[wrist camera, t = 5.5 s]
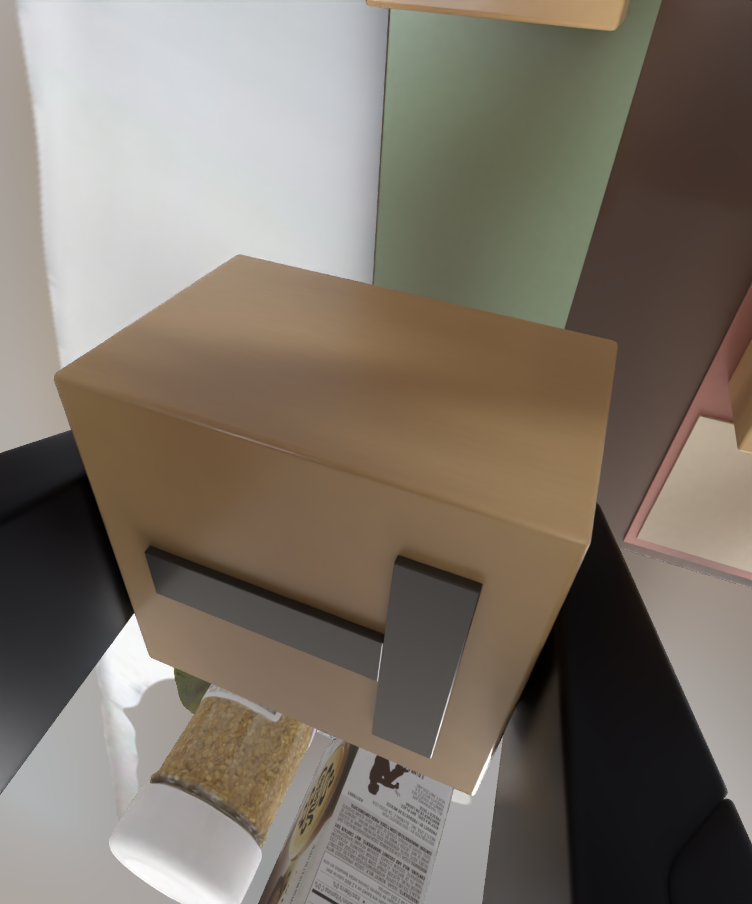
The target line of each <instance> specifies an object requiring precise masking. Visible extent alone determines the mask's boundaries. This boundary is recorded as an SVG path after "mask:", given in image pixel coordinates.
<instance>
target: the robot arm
mask: <svg viewBox="0 0 752 904" xmlns="http://www.w3.org/2000/svg"><path fill="white" fill-rule="evenodd" d="M133 614H134V610H133V607H132V604H131V601H130V598H129V595H128V593H127V590H126V587H125V584H124V581H123V578H122V575H121V572H120V569H119V567H118V564H117V561H116V558H115V555H114V552H113V549H112V546H111V543H110V541H109V538H108V535H107V532H106V529H105V526H104V523H103V520H102V517H101V514H100V512H99V509H98V506H97V503H96V500H95V497H94V494H93V491H92V488H91V486H90V483H89V480H88V477H87V474H86V471H85V468H84V465H83V462H82V459H81V457H80V454H79V451H78V448H77V445H76V442H75V439H74V436H73V433H72V431H71V430H69V431H66V432H64V433H60V434H57V435H54V436H51V437H48V438H45V439H42V440H39V441H36V442H33V443H30V444H26V445H23V446H20V447H17V448H14V449H11V450H8V451H5V452H2V453H0V794H1V793H2V792H3V790H4V789H5V788H6V786H7V785H8V783H9V782H10V781H11V779H12V778H13V777H14V775H15V774H16V773H17V771H18V770H19V769H20V767H21V766H22V765H23V763H24V762H25V760H26V759H27V757H28V756H29V755H30V754H31V752H32V751H33V750H34V748H35V747H36V745H37V744H38V743H39V741H40V740H41V739H42V737H43V736H44V735H45V733H46V732H47V731H48V729H49V728H50V726H51V725H52V724H53V722H54V721H55V720H56V718H57V717H58V716H59V714H60V713H61V711H62V710H63V709H64V707H65V706H66V705H67V703H68V702H69V700H70V699H71V698H72V697H73V695H74V694H75V693H76V691H77V690H78V688H79V687H80V686H81V684H82V683H83V682H84V680H85V679H86V677H87V676H88V675H89V674H90V672H91V671H92V669H93V668H94V667H95V665H96V664H97V663H98V661H99V660H100V659H101V657H102V656H103V655H104V653H105V652H106V650H107V649H108V648H109V646H110V645H111V644H112V642H113V641H114V640H115V638H116V637H117V636H118V634H119V633H120V631H121V630H122V629H123V627H124V626H125V625H126V623H127V622H128V621H129V619H130V618H131V617H132V615H133ZM727 793H728V792H727V788H726V786H725V784H724V781H723V779H722V777H721V775H720V773H719V770H718V768H717V766H716V763H715V761H714V759H713V757H712V754H711V752H710V750H709V748H708V746H707V743H706V741H705V739H704V737H703V734H702V732H701V730H700V728H699V725H698V723H697V721H696V719H695V716H694V714H693V712H692V710H691V707H690V705H689V703H688V701H687V699H686V696H685V694H684V692H683V690H682V687H681V685H680V683H679V681H678V678H677V676H676V674H675V672H674V670H673V667H672V665H671V663H670V660H669V658H668V656H667V654H666V652H665V649H664V647H663V645H662V643H661V640H660V638H659V636H658V634H657V631H656V629H655V627H654V625H653V623H652V620H651V618H650V616H649V614H648V612H647V609H646V607H645V605H644V603H643V600H642V598H641V596H640V593H639V591H638V589H637V587H636V585H635V582H634V580H633V578H632V576H631V573H630V571H629V569H628V567H627V564H626V562H625V560H624V558H623V555H622V553H621V551H620V549H619V546H618V544H617V542H616V540H615V537H614V535H613V533H612V531H611V529H610V526H609V524H608V522H607V520H606V517H605V515H604V513H603V511H602V508H601V506H600V505H599V504H598V503H597V502H596V509H595V516H594V523H593V530H592V538H591V544H590V546H589V548H588V550H587V553H586V555H585V557H584V559H583V561H582V563H581V566H580V568H579V570H578V572H577V574H576V577H575V579H574V581H573V583H572V585H571V588H570V590H569V592H568V594H567V596H566V598H565V601H564V603H563V605H562V607H561V609H560V612H559V614H558V616H557V618H556V620H555V622H554V625H553V627H552V629H551V631H550V633H549V636H548V638H547V640H546V642H545V644H544V647H543V649H542V651H541V653H540V655H539V657H538V660H537V662H536V664H535V666H534V668H533V671H532V673H531V675H530V677H529V679H528V682H527V684H526V686H525V688H524V690H523V692H522V695H521V697H520V699H519V701H518V703H517V706H516V708H515V710H514V712H513V714H512V717H511V719H510V721H509V723H508V725H507V727H506V730H505V732H504V735H503V743H502V751H501V759H500V767H499V775H498V783H497V790H496V798H495V806H494V814H493V822H492V831H491V838H490V846H489V854H488V862H487V870H486V878H485V886H484V895H483V902H482V904H752V843H751V841H750V839H749V837H748V834H747V832H746V830H745V828H744V825H743V823H742V821H741V819H740V816H739V814H738V812H737V810H736V807H735V805H734V803H733V802H732V801H731V800H730V799H724V798H725V797H726V795H727Z"/></svg>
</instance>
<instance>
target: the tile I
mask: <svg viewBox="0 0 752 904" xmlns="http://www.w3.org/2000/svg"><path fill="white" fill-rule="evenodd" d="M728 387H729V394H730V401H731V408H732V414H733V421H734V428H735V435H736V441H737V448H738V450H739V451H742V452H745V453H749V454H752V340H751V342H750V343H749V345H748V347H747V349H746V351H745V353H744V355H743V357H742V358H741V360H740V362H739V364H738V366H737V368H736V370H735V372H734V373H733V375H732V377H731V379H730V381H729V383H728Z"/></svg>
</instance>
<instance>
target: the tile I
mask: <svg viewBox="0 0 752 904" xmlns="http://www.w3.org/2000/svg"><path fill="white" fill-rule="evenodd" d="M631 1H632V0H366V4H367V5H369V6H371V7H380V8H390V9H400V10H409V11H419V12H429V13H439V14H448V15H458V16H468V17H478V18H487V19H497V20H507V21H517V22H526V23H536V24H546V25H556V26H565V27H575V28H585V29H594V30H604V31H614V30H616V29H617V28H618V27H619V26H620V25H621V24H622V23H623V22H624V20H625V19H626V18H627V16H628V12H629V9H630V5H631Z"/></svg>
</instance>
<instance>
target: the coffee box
mask: <svg viewBox="0 0 752 904" xmlns="http://www.w3.org/2000/svg"><path fill="white" fill-rule="evenodd" d="M453 790H454V788H452V787H450V786H448V785H445V784H443V783H441V782H438V781H436V780H434V779H432V778H429V777H427V776H425V775H422V774H420V773H418V772H415V771H413V770H411V769H408V768H406V767H404V766H401V765H399V764H397V763H394V762H392V761H390V760H387V759H385V758H383V757H381V756H378V755H376V754H374V753H371V752H369V751H367V750H364V749H362V748H360V747H357V746H355V745H353V744H350V743H348V742H346V741H343V740H341V739H339V738H337V739H336V740H334V741H333V742H332V743H331V744H330V745H329V746H328V747H327V748H326V749H325V750H324V753H323V755H322V758H321V760H320V762H319V765H318V767H317V769H316V771H315V774H314V776H313V779H312V781H311V783H310V785H309V788H308V790H307V792H306V795H305V797H304V800H303V802H302V804H301V806H300V809H299V811H298V813H297V816H296V818H295V820H294V822H293V825H292V827H291V829H290V831H289V834H288V836H287V839H286V841H285V843H284V846H283V848H282V850H281V852H280V855H279V857H278V859H277V861H276V864H275V866H274V869H273V871H272V873H271V875H270V877H269V880H268V882H267V884H266V886H265V889H264V891H263V894H262V896H261V898H260V901H259V903H258V904H424V900H425V897H426V893H427V889H428V885H429V882H430V877H431V874H432V870H433V866H434V862H435V859H436V855H437V851H438V847H439V844H440V840H441V836H442V832H443V828H444V824H445V820H446V816H447V813H448V809H449V805H450V802H451V798H452V794H453Z"/></svg>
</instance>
